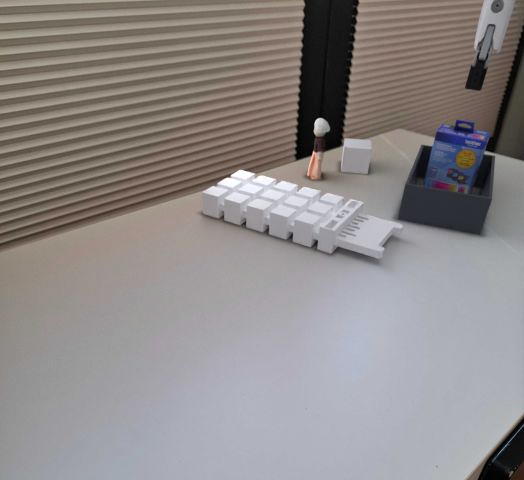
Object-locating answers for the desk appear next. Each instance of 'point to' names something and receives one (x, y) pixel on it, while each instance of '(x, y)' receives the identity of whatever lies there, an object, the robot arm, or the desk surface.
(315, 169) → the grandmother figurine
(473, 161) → the ink cartridge box
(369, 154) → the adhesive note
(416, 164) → the bin
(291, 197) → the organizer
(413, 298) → the desk surface
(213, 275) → the desk surface
